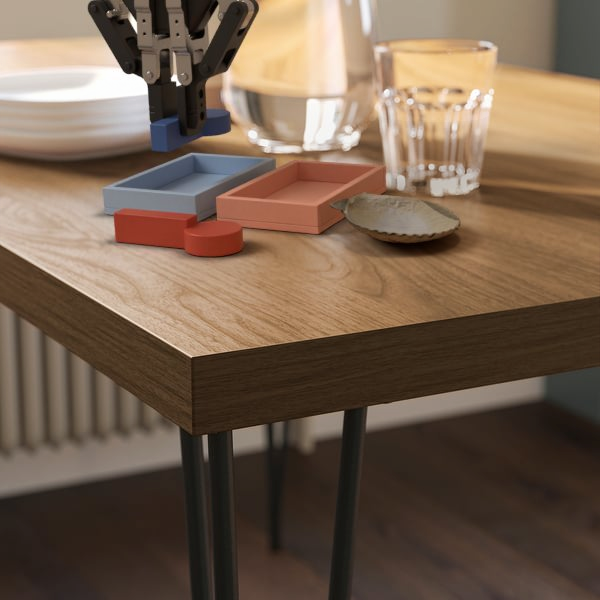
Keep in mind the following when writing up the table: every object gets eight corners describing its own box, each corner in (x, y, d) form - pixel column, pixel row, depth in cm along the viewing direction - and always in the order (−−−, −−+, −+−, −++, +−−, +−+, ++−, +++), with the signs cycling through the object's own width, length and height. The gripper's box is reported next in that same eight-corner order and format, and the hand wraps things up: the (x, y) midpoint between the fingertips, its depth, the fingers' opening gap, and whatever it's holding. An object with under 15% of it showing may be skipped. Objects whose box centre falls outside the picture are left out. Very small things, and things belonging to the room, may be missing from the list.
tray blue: (192, 176, 97) (191, 152, 97) (276, 182, 94) (275, 158, 94) (104, 214, 86) (102, 187, 85) (196, 223, 83) (195, 195, 82)
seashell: (407, 287, 73) (484, 232, 78) (406, 246, 72) (485, 192, 76) (311, 243, 78) (388, 194, 83) (308, 204, 76) (387, 156, 81)
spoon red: (105, 246, 78) (103, 217, 77) (135, 232, 81) (133, 203, 80) (226, 259, 74) (225, 228, 73) (253, 243, 77) (252, 214, 77)
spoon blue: (183, 153, 84) (181, 125, 83) (137, 150, 85) (134, 122, 85) (239, 127, 92) (238, 102, 91) (196, 125, 93) (195, 99, 92)
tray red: (294, 184, 94) (294, 159, 93) (386, 191, 90) (386, 165, 90) (217, 224, 82) (215, 197, 81) (318, 234, 79) (317, 205, 78)
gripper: (277, -118, 82) (283, 130, 87) (111, -112, 87) (127, 121, 93) (227, -119, 75) (237, 149, 81) (51, -113, 81) (72, 138, 86)
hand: (178, 133), depth 87 cm, fingers closed on spoon blue, 1 cm apart
